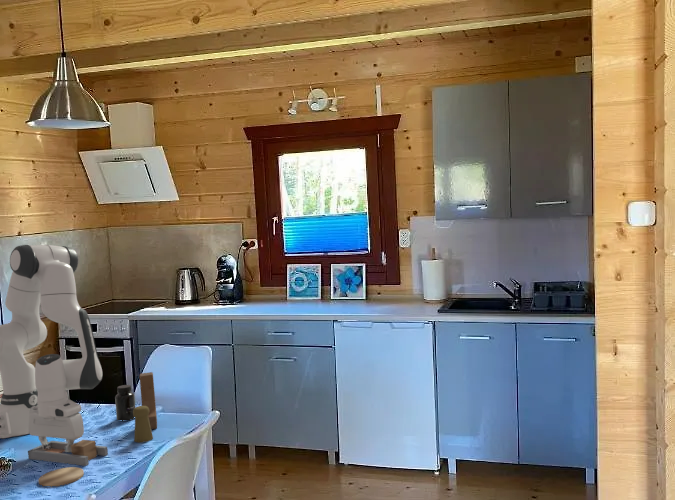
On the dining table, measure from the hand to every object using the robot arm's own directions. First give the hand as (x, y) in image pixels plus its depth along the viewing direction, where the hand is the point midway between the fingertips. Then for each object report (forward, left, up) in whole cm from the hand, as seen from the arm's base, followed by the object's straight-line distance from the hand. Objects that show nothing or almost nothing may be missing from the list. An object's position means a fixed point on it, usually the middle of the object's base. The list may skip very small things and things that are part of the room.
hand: (57, 450), depth 214 cm
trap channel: (+4, 0, -2) cm, 4 cm away
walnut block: (+11, 0, -2) cm, 11 cm away
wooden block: (+11, +31, -2) cm, 33 cm away
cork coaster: (+16, -14, -2) cm, 21 cm away
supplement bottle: (-4, +36, -2) cm, 36 cm away
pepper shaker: (+18, +19, -2) cm, 26 cm away
